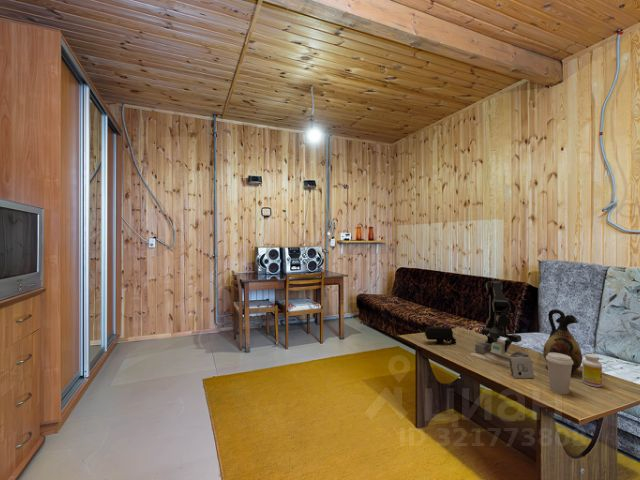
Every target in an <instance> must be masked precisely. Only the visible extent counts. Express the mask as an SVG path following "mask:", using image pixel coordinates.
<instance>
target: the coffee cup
mask: <svg viewBox="0 0 640 480" xmlns="http://www.w3.org/2000/svg"><path fill="white" fill-rule="evenodd" d="M546 359H547V361H546V362H547V363H546V364H547V365H546V366H547V374H548V381H549V390H550V391H552V392H553V391H554V393H556V394H559V393H560V394H559V395H568V394H569V393H570V387H571V377H572V375H571V370H572V365H573V364H574V363H573V361H572V359H571V357H570V356H567V355H564V354H560V353H548V355H547V356H546Z"/></svg>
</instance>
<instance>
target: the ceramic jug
mask: <svg viewBox="0 0 640 480" xmlns="http://www.w3.org/2000/svg"><path fill="white" fill-rule="evenodd" d="M555 314H558V315H560V316H559V317H558V318H557V319H555V320H554V318H553V315H555ZM565 314H566V313H565V312H564V311H562V310H560V309H557V308H554V309H551V310H550V311H548V315H547V317H548V322H549V325H550V328H551V331H550V334H549V337H548V338H547V340H546V341H545V344H544V346H543V350H542V352H543V353H542V354H543V357H544V358H543V359H545V361H546V362H547V359H546V356H547V355H548V353H560V354H564V355H567V356H570V357H571V359H572V361H573V363H574V364H573V365H572V370H571V374H572V375H575V371H576V370H578V369H579V368H580V367H581V366H582V362H583V355H582V351H581V347H580V346H579V344H578V342H577V341H576V339H575V338H574V336H573V335H572V333H571V332H570V331H569V329H568V326H569V325H572V324H579V320H578V319H577V318H576V317H575V316H574V315H573V314H566V315H565ZM555 322H556V323H557V324H558V327H556V324H555Z"/></svg>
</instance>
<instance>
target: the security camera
mask: <svg viewBox="0 0 640 480" xmlns="http://www.w3.org/2000/svg"><path fill="white" fill-rule="evenodd" d="M453 334H454V332H453V328H451V327H450V326H426V327H425V329H424V336H425V338H426V339H427V340H431V341H432V340H434V343H435V345H444V344H445V342H448V343H449V344H450V345H456V344H457V341H456V338H455V337H454V335H453Z"/></svg>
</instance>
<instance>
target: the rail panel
mask: <svg viewBox="0 0 640 480" xmlns="http://www.w3.org/2000/svg"><path fill="white" fill-rule="evenodd" d="M485 342H486V341H481V342H478V343H476V344H474V352H471V353H470V355H469V356H471V357H473V358H477V359H480V360H483V361H486V362H489V363H493V364H496V365H499V366H502V367H504V368H508V369H510V362H509V358H511V357H529V353H526V352H522V351H515V352H513V353H511V354H509V353H506V354H503V355H499V354H496V353H493V352H492V344H489V343H485ZM531 362H532V363H533V360H532V359H531Z"/></svg>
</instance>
